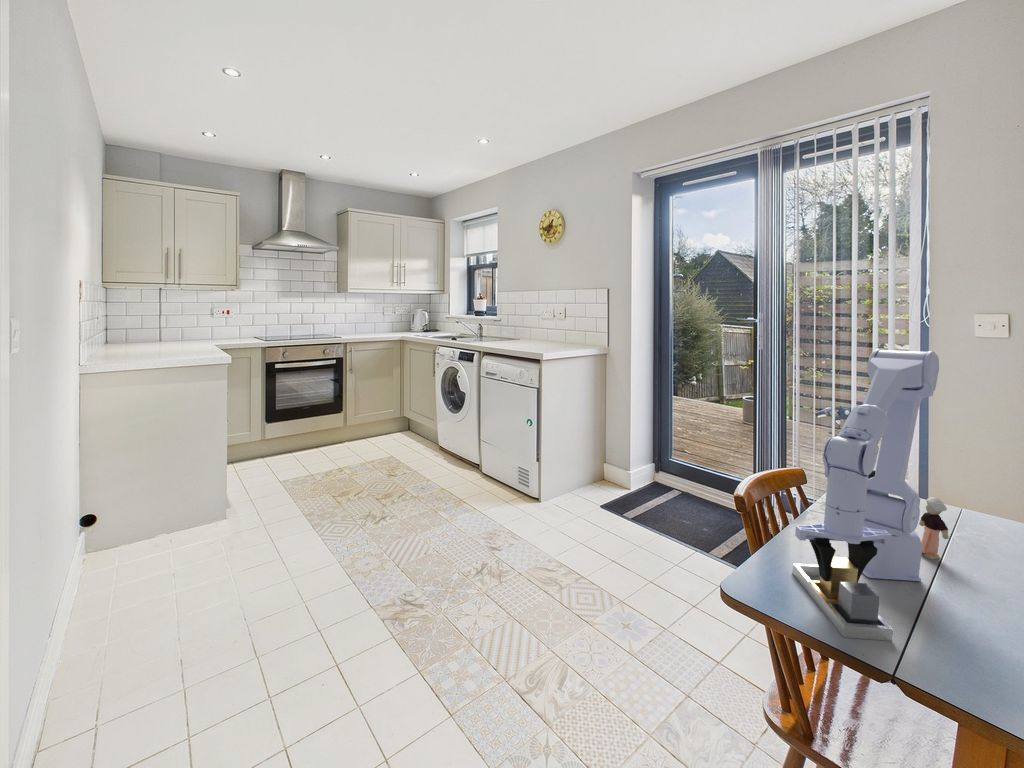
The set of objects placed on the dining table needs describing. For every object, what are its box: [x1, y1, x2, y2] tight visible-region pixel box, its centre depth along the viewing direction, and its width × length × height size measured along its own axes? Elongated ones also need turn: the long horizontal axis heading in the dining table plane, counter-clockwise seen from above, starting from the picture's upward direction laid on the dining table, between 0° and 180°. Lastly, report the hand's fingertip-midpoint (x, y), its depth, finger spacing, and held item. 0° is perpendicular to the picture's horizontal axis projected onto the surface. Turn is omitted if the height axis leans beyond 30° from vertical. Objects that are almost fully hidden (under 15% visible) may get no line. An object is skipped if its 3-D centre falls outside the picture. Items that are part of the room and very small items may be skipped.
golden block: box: [819, 556, 858, 600], centre depth 88 cm, size 4×4×6 cm
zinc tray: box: [791, 562, 894, 642], centre depth 88 cm, size 7×20×2 cm, turn 172°
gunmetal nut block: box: [837, 582, 881, 625], centre depth 81 cm, size 4×4×6 cm
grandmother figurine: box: [918, 496, 950, 560], centre depth 104 cm, size 8×4×13 cm, turn 5°
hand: (838, 579), depth 87 cm, fingers closed on golden block, 4 cm apart
